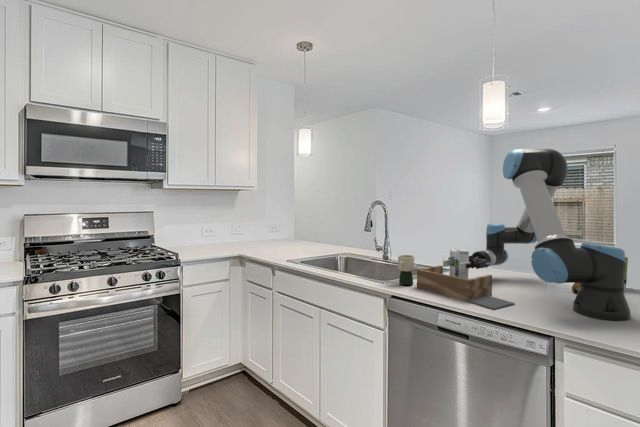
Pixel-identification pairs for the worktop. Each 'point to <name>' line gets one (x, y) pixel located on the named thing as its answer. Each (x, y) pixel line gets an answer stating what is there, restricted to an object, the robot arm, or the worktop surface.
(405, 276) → the character mug
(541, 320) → the worktop surface
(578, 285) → the bread roll
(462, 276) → the syrup box
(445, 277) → the wooden crate
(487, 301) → the mat
